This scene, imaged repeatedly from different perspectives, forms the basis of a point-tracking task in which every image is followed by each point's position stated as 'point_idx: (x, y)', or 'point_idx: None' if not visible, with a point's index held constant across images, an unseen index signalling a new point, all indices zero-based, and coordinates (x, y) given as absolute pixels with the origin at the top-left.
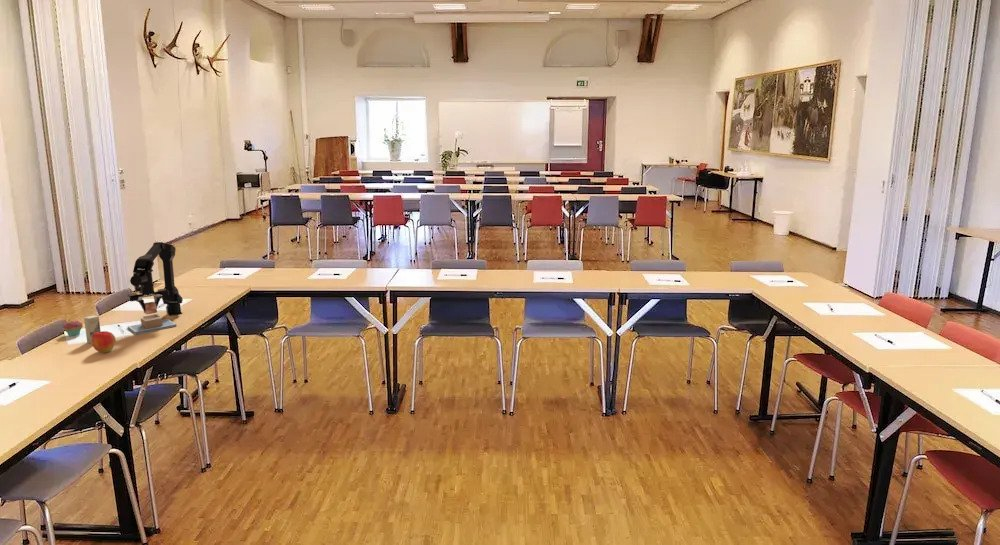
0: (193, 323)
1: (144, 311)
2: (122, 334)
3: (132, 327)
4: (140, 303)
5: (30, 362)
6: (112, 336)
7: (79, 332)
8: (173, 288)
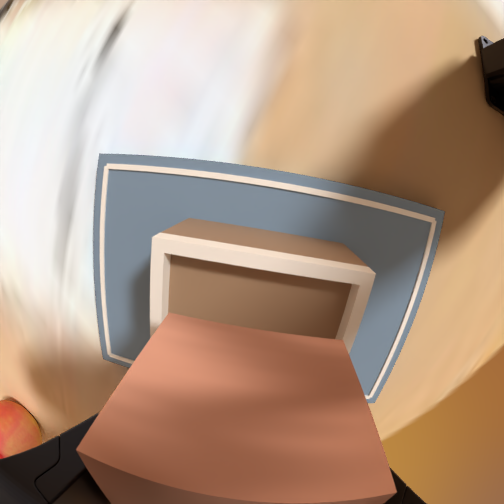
0: (441, 397)
1: None
2: (55, 283)
3: (113, 218)
4: (34, 476)
5: None
6: None
7: None
8: None
